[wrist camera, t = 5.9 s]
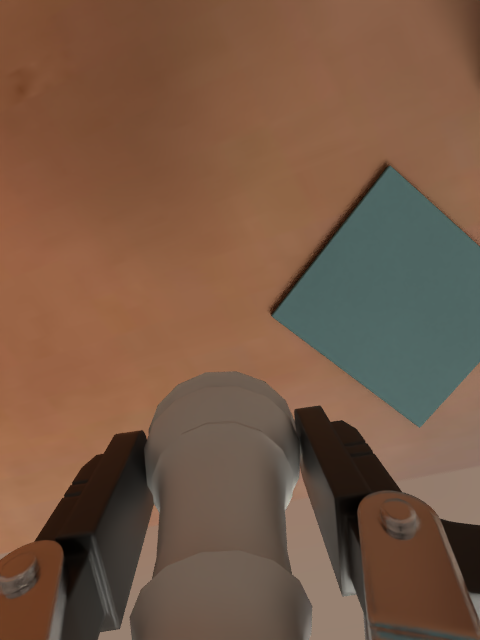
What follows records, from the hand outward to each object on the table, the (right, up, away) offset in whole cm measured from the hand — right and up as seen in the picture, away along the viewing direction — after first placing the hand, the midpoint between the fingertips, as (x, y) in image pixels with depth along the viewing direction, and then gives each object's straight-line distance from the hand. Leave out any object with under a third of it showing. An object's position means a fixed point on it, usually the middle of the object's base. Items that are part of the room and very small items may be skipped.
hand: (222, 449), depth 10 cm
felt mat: (+12, +5, +14) cm, 19 cm away
